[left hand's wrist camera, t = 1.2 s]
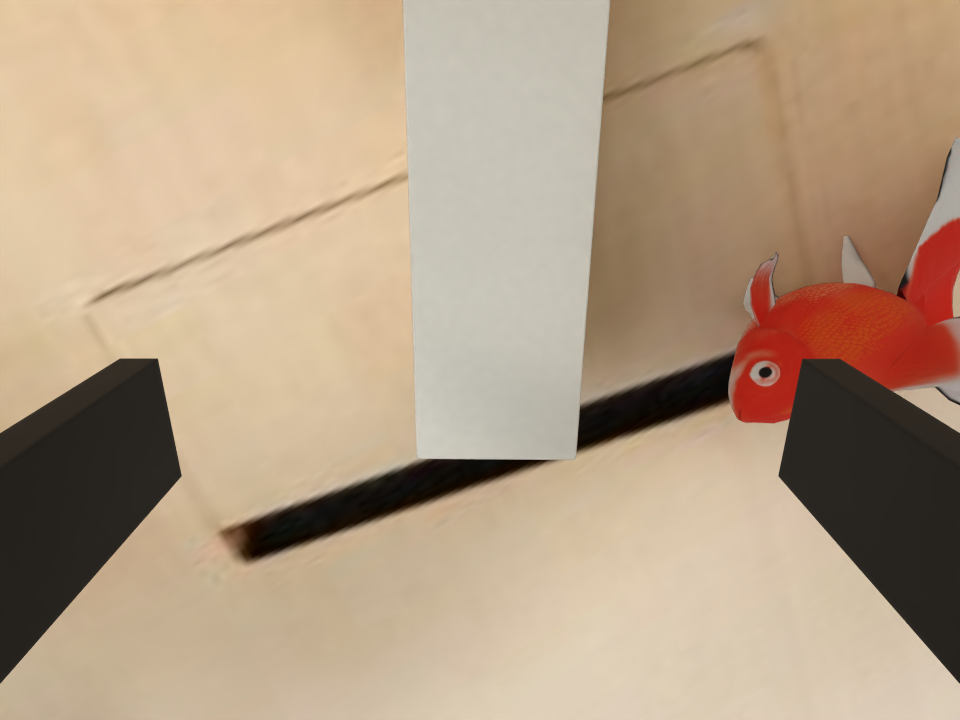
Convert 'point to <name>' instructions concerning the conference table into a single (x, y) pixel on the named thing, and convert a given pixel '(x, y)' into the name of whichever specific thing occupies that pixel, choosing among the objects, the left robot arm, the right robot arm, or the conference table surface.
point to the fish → (857, 321)
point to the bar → (501, 219)
